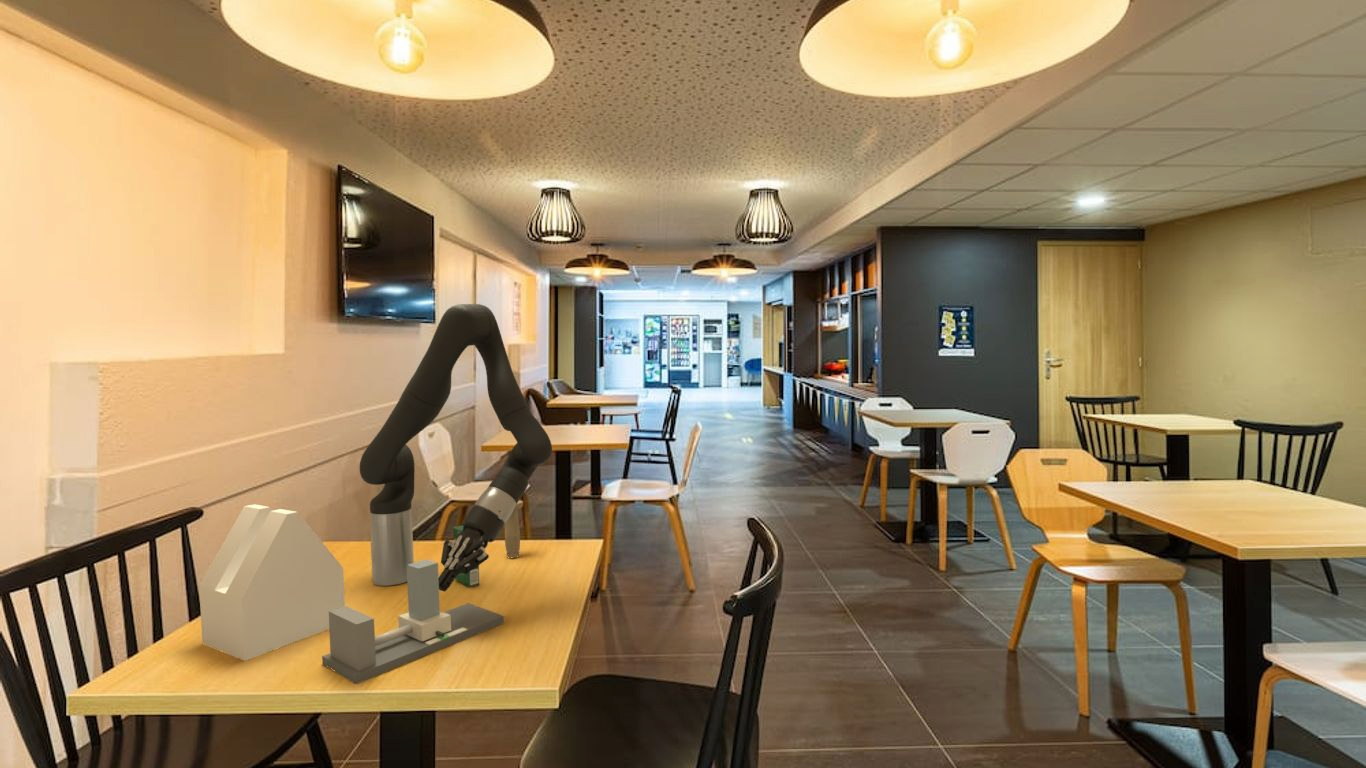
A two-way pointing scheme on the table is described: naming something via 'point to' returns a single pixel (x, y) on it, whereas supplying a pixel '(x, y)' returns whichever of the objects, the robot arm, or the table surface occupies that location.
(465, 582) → the coffee box
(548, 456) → the robot arm
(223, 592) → the white house-shaped block
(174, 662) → the table surface
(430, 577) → the gauge slider
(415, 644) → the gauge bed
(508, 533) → the handle
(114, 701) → the table surface
